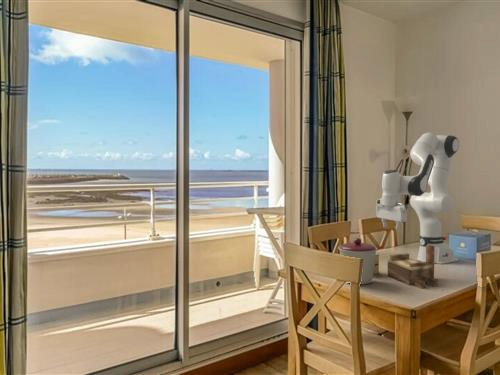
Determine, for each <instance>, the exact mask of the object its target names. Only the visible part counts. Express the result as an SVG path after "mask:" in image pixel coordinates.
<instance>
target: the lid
mask: <svg viewBox="0 0 500 375" xmlns="http://www.w3.org/2000/svg"><path fill="white" fill-rule="evenodd" d="M389 256H390V257H389V259H387V263H388V262H389V263H392V264H395V265H398V266H401V267H404V268H407V269H409V270H419V269H427V268H433V266H432V265H429V262H422V261H419V260H417V259H413V258H410V253H408V252H407V253H397V254H390V255H389Z"/></svg>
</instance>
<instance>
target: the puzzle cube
mask: <svg viewBox="0 0 500 375" xmlns="http://www.w3.org/2000/svg"><path fill="white" fill-rule="evenodd" d="M379 256H380V254H378V253H376V257H375V266H374V273H373V276H376V275H377V274H379V273H380V267H379V266H380V264H379V263H380V259H379V258H380V257H379Z"/></svg>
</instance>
